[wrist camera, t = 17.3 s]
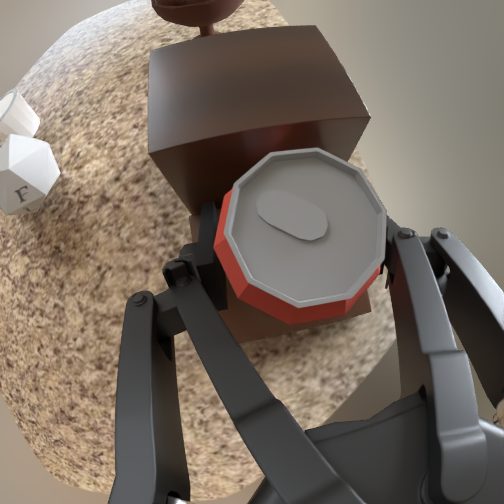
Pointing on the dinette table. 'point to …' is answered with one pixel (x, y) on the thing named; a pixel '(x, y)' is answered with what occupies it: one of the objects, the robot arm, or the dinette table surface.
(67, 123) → the dinette table surface
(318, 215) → the beverage can
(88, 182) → the dinette table surface
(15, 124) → the shot glass
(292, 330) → the wooden l-shaped step
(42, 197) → the die
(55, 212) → the dinette table surface
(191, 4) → the ice cream bowl
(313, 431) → the robot arm
